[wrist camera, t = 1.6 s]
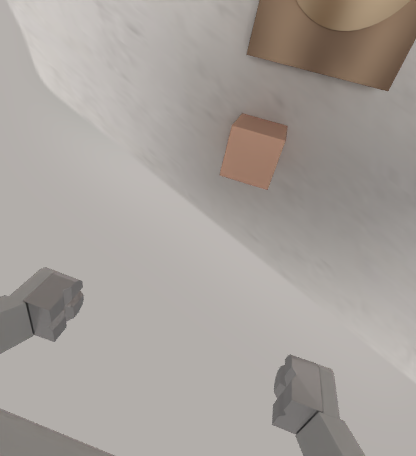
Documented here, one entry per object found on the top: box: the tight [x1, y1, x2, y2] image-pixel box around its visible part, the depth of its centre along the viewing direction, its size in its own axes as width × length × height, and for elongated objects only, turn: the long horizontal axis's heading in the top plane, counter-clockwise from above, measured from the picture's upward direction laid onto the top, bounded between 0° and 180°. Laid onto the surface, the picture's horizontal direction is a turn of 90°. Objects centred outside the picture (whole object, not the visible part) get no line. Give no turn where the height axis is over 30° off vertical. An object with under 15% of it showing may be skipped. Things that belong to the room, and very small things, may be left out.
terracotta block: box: [220, 113, 287, 190], centre depth 30 cm, size 5×5×6 cm
